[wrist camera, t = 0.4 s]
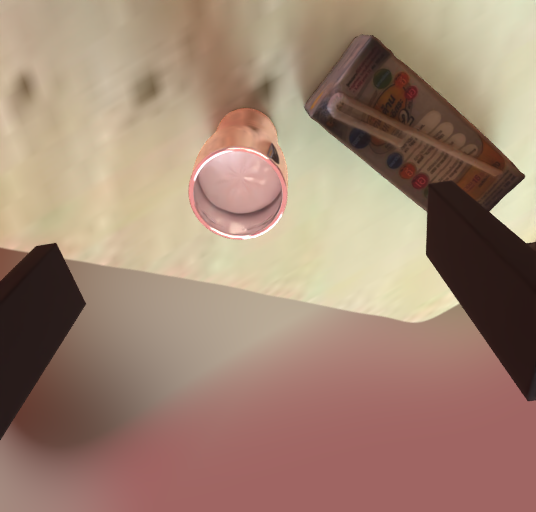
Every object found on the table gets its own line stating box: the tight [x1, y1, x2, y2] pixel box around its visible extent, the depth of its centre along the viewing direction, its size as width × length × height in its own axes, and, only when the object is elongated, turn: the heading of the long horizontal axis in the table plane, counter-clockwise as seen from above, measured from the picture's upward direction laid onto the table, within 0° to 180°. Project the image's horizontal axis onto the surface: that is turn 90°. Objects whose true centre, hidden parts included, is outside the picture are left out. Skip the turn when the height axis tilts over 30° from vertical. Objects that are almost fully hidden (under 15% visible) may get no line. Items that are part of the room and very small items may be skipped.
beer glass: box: [189, 108, 288, 239], centre depth 33 cm, size 7×7×15 cm
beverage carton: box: [304, 35, 525, 211], centre depth 37 cm, size 8×19×7 cm, turn 54°
